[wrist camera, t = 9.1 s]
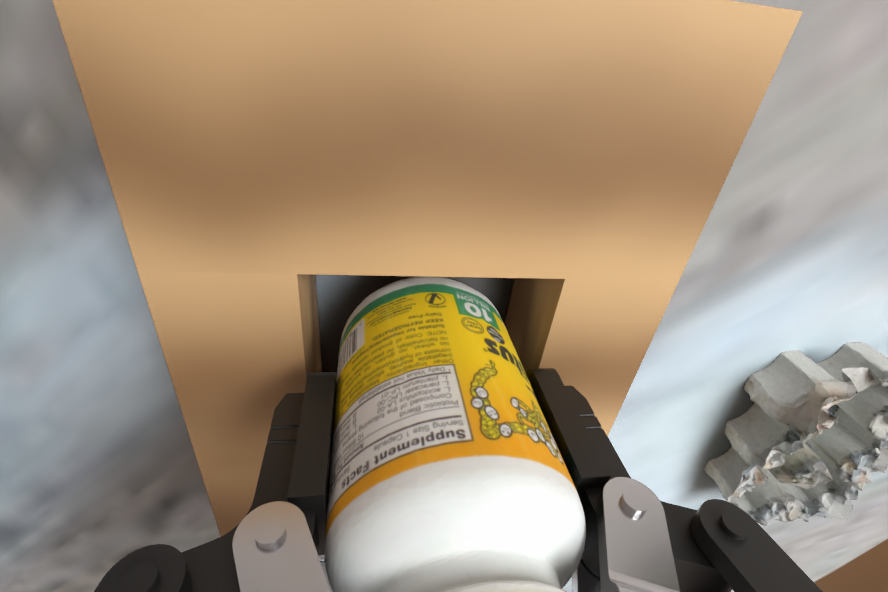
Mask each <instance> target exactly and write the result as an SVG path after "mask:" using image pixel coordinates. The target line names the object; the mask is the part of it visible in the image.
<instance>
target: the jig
mask: <svg viewBox="0 0 888 592" xmlns="http://www.w3.org/2000/svg"><path fill="white" fill-rule="evenodd" d="M52 1H53V4H54V7H55V10H56V13H57V17H58V20H59V23H60V26H61V29H62V32H63V36H64V39H65V42H66V45H67V48H68V52H69V55H70V58H71V61H72V64H73V67H74V71H75V74H76V77H77V80H78V83H79V86H80V90H81V93H82V96H83V99H84V102H85V106H86V109H87V112H88V115H89V118H90V121H91V125H92V128H93V131H94V134H95V137H96V141H97V144H98V147H99V150H100V153H101V156H102V160H103V163H104V166H105V169H106V172H107V176H108V179H109V182H110V185H111V188H112V191H113V195H114V198H115V201H116V204H117V207H118V211H119V214H120V217H121V220H122V223H123V226H124V230H125V233H126V236H127V239H128V242H129V246H130V249H131V252H132V255H133V258H134V261H135V265H136V268H137V271H138V274H139V277H140V281H141V284H142V287H143V290H144V293H145V296H146V300H147V303H148V306H149V309H150V312H151V316H152V319H153V322H154V325H155V328H156V331H157V335H158V338H159V341H160V344H161V347H162V351H163V354H164V357H165V360H166V363H167V366H168V370H169V373H170V376H171V379H172V382H173V386H174V389H175V392H176V395H177V398H178V401H179V405H180V408H181V411H182V414H183V417H184V420H185V424H186V427H187V430H188V433H189V436H190V440H191V443H192V446H193V449H194V452H195V455H196V459H197V462H198V465H199V468H200V471H201V475H202V478H203V481H204V484H205V487H206V490H207V494H208V497H209V500H210V503H211V506H212V510H213V513H214V516H215V519H216V522H217V525H218V529H219V532H220V535H221V537H222V536H223V535H225V534H227V533H228V532H229V531H231V530H232V529H233V528H235V527H236V526H237V525H238V524H239V523H240V522H241V521H242V520H243V518H244V517H245V516H246V514H247V513H248V511H249V509H250V507H251V505H252V502H253V499H254V495H255V491H256V487H257V482H258V478H259V474H260V469H261V465H262V461H263V457H264V452H265V448H266V445H267V439H268V435H269V431H270V429H271V422H272V418H273V414H274V409H275V408H276V406H277V405H278V404H279V402H280V401H281V400H282V399H283V397H284V396H285V395H286V393H304V392H305V386H306V380H307V375H308V373H316V372H322V366H321V350H320V333H319V317H318V301H317V285H316V275H370V276H427V277H485V278H515V279H514V284H513V288H512V293H511V297H510V302H509V306H508V311H507V315H506V320H505V324H504V325H505V327H506V329H507V331H508V334H509V337H510V339H511V341H512V343H513V346H514V348H515V350H516V352H517V355H518V357H519V359H520V362H521V364H522V366H523V368H524V371H525V374H526V371H527V370H528V369H533V368H554V369H555V370H556V371H557V372H558V374H559V376H560V378H561V380H562V382H563V384H564V386H573V387H574V388H575V389H577V390H578V391H579V392H580V393H581V394H582V395H583V396H584V397H585V398H586V399H587V401H588V403H589V404H590V406H591V408H592V410H593V412H594V413H595V414H594V415H595V417H597V419H598V421H599V422H600V424H601V428H602V429H603V430H604V431H605V433H606V435H607V436H608V434H609V432H610V430H611V427H612V425H613V423H614V421H615V419H616V417H617V414H618V412H619V410H620V408H621V406H622V404H623V401H624V399H625V397H626V395H627V393H628V391H629V388H630V386H631V384H632V382H633V380H634V377H635V375H636V373H637V371H638V369H639V367H640V364H641V362H642V360H643V358H644V356H645V354H646V351H647V349H648V347H649V345H650V343H651V341H652V338H653V336H654V334H655V332H656V330H657V327H658V325H659V323H660V321H661V319H662V317H663V314H664V312H665V310H666V308H667V306H668V304H669V301H670V299H671V297H672V295H673V293H674V291H675V288H676V286H677V284H678V282H679V280H680V277H681V275H682V273H683V271H684V269H685V267H686V264H687V262H688V260H689V258H690V256H691V254H692V251H693V249H694V247H695V245H696V243H697V241H698V238H699V236H700V234H701V232H702V230H703V228H704V225H705V223H706V221H707V219H708V217H709V214H710V212H711V210H712V208H713V206H714V204H715V201H716V199H717V197H718V195H719V193H720V191H721V188H722V186H723V184H724V182H725V180H726V178H727V175H728V173H729V171H730V169H731V167H732V164H733V162H734V160H735V158H736V156H737V154H738V151H739V149H740V147H741V145H742V143H743V141H744V138H745V136H746V134H747V132H748V130H749V128H750V125H751V123H752V121H753V119H754V117H755V115H756V112H757V110H758V108H759V106H760V104H761V101H762V99H763V97H764V95H765V93H766V91H767V88H768V86H769V84H770V82H771V80H772V78H773V75H774V73H775V71H776V69H777V67H778V65H779V62H780V60H781V58H782V56H783V54H784V51H785V49H786V47H787V45H788V43H789V41H790V38H791V36H792V34H793V32H794V30H795V28H796V25H797V23H798V21H799V19H800V17H801V15H802V12H803V11H796V10H790V9H783V8H777V7H770V6H763V5H757V4H750V3H744V2H737V1H730V0H52ZM318 557H319V559H325V555H318Z"/></svg>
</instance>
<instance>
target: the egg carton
mask: <svg viewBox="0 0 888 592" xmlns="http://www.w3.org/2000/svg"><path fill="white" fill-rule="evenodd" d="M744 390H745V391H746V392H747V393H748V394H749V395H750V399H751V401H754V404H753V405H752V407H751V408H750V409H749V410H748V411H746V412H745V413H744V414H742V415H741V416H739V417H737V418H735V419H732V420H729V421H727V424H726V428H725V432H724V434H725V435H726V436H727V437H728V439H729V440H730V442H731V445H732V447H731V448H730V449H729V450H728V451H727V452H726V453H724V454H723V455H721V456H719V457H717V458H715V459H712V460H709V461H708V463H707V464H706V466H705V472H706V473H707V474H708V475H709V476H710V477H711V478H712V479H713V480H714V481H715V483H716V484H717V485H718V487H719V490H720V492H721V494H722V496H723V497H724V498H725V499H726V500H727V501H728V502H729V503H732V504H734V505H736V506H737V507H739V508H741V509H742V510H744V511H745V512H746V513H747V514H749V515H750V516H751V517H752V518H753V519H754V520H755V521H756V522H758V523H760V524H761V525H764V526H766V525H767V524H768V522H769V521H771V520H779V521H783V522H788V521H794V520H800V521H806V522H809V518H810V517H811V516H820V517H825V518H833V519H843V520H848V519H849V518H850V517H851V513H852V509H853V504H854V502H855V500H857V499H858V495H859V490H861V491H862V490H863V488H864V486H865V484H868V483H871V479H872V478H871V475H870V472H886V471H887V467H888V357H886V356H884V355H883V354H881V353H879V352H878V351H876V350H875V349H874V348H872V347H871V346H869V345H867V344H865V343H862V342H854V343H846V344H844V345H843V346H842V347H841V349H840V350H838V351H837V352H836V353H835V354H834V355H833V356H831V357H830V358H828V359H826V360H824V361H822V362H819V363H815V362H814V361H812V360H811V359H810V358H808V357H807V356H805V355H804V354H803V353H802V352H801V351H789V352H782V353H781V354H780V355H779V356H778V357H777V358H776V359H775V360H774V361H773V362H772V363H771V364H770V365H769V366H767V367H766V368H764V369H762V370H761V371H758V372H756V373H753V374H752V375H751V376H750V377H749V378H748V380H747V382H746V384H745V387H744ZM835 404H836V405H838V406H839V408H838V410H837V411H836V413H835V414H834V415H833V416H832V415H830V414H829V413H828V411H827V410H828V409H829V408H830V407H831V406H833V405H835ZM806 443H807V444H808V445H809V446H810V447H811V448H810V447H809V446H808V445H807V444H806Z"/></svg>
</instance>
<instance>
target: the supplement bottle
mask: <svg viewBox="0 0 888 592" xmlns="http://www.w3.org/2000/svg"><path fill="white" fill-rule="evenodd" d="M585 540H586V522H585V515H584V511H583V507H582V504H581V501H580V498H579V495H578V492H577V490H576V487H575V485H574V483H573V481H572V479H571V476H570V474H569V472H568V470H567V468H566V465H565V463H564V461H563V458H562V456H561V454H560V451H559V449H558V447H557V445H556V443H555V441H554V438H553V436H552V434H551V431H550V429H549V427H548V424H547V422H546V420H545V418H544V416H543V413H542V411H541V409H540V406H539V404H538V402H537V399H536V397H535V394H534V391H533V389H532V387H531V385H530V382H529V380H528V379H527V376H526V374H525V371H524V368H523V366H522V364H521V362H520V359H519V357H518V355H517V352H516V350H515V348H514V346H513V343H512V341H511V339H510V337H509V334H508V331H507V329H506V327H505V325H504V323H503V321H502V319H501V316H500V314H499V313H498V311H497V309H496V308H495V306H494V305H493V303H492V302H491V301H490V300H489V299H488V298H487V297H486V296H484V295H483V294H482V293H480V292H478V291H477V290H475V289H473V288H471V287H469V286H467V285H465V284H463V283H460V282H458V281H455V280H453V279H449V278H445V277H427V276H415V277H410V278H406V279H402V280H399V281H396V282H393V283H390V284H388V285H386V286H384V287H382V288H380V289H378V290H376V291H375V292H373V293H371V294H370V295H369V296H368V297H366V298H365V299H364V300H363V301H362V302H361V303H360V304H359V305H358V306H357V307H356V309H355V310H354V311H353V313H352V314H351V315H350V317H349V319H348V320H347V323H346V325H345V327H344V330H343V333H342V337H341V341H340V350H339V359H338V370H337V389H336V403H335V416H334V429H333V441H332V454H331V467H330V479H329V493H328V505H327V520H326V534H325V568H326V573H327V577H328V581H329V584H330V586H331V589H332V591H333V592H567V591H565V590H562V588H563V587H564V586H565V585H566V583H567V582H568V581H569V579H570V578H571V577H572V575H573V574H574V572H575V570H576V569H577V567H578V564H579V562H580V560H581V557H582V554H583V551H584V547H585Z"/></svg>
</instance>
